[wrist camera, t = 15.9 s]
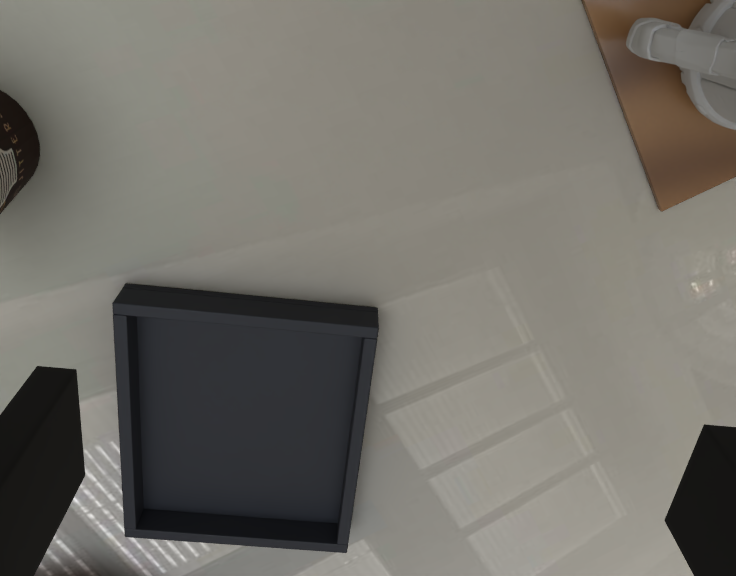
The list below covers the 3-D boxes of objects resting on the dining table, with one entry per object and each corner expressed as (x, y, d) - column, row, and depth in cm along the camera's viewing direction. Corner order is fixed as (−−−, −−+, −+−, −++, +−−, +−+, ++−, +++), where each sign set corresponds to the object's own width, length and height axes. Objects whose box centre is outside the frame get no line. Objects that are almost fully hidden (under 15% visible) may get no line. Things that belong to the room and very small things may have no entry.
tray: (125, 282, 42) (112, 302, 40) (377, 307, 43) (379, 327, 41) (135, 509, 51) (124, 537, 48) (347, 525, 52) (346, 553, 49)
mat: (560, -58, 34) (562, -57, 34) (759, -171, 32) (763, -172, 32) (658, 209, 41) (661, 211, 40) (830, 128, 39) (834, 130, 38)
